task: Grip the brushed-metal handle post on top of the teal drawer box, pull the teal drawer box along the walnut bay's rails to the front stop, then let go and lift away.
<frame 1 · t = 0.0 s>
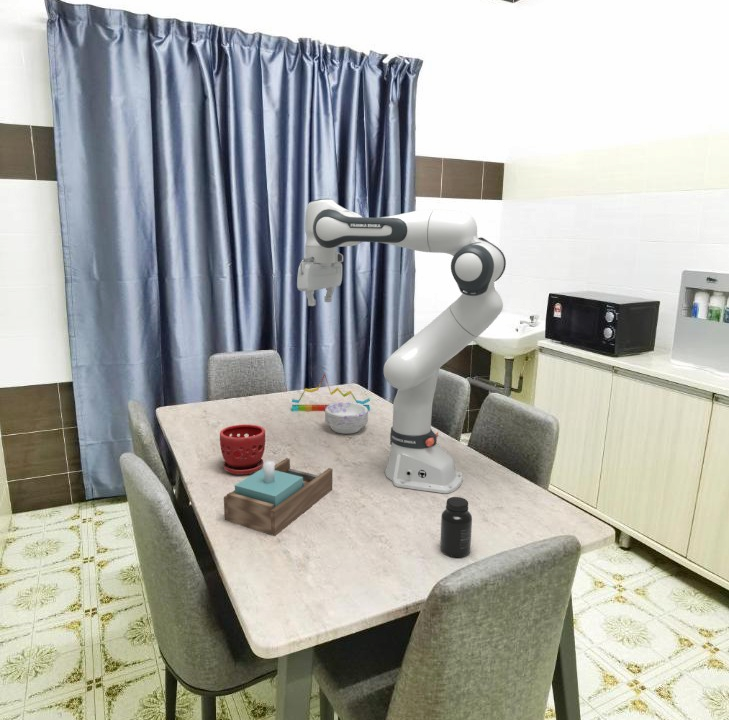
hand: (320, 303, 168), 48 cm above the table, tool pointing down, fingers open, 8 cm apart
chart: (330, 410, 223), on the table
bay: (281, 504, 147), on the table
supplement bottle: (454, 550, 128), on the table
paper bowls: (346, 430, 202), on the table
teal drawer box: (269, 484, 141), point 8 cm above the table, slide at 11.0 cm
plant pot: (243, 468, 168), on the table
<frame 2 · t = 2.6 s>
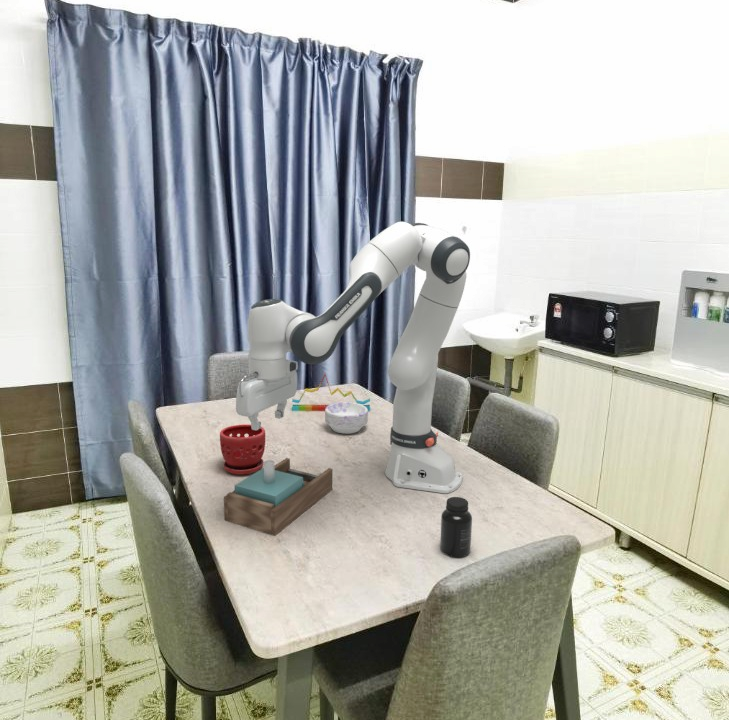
hand: (268, 423, 137), 24 cm above the table, tool pointing down, fingers open, 8 cm apart
nothing on the table moved.
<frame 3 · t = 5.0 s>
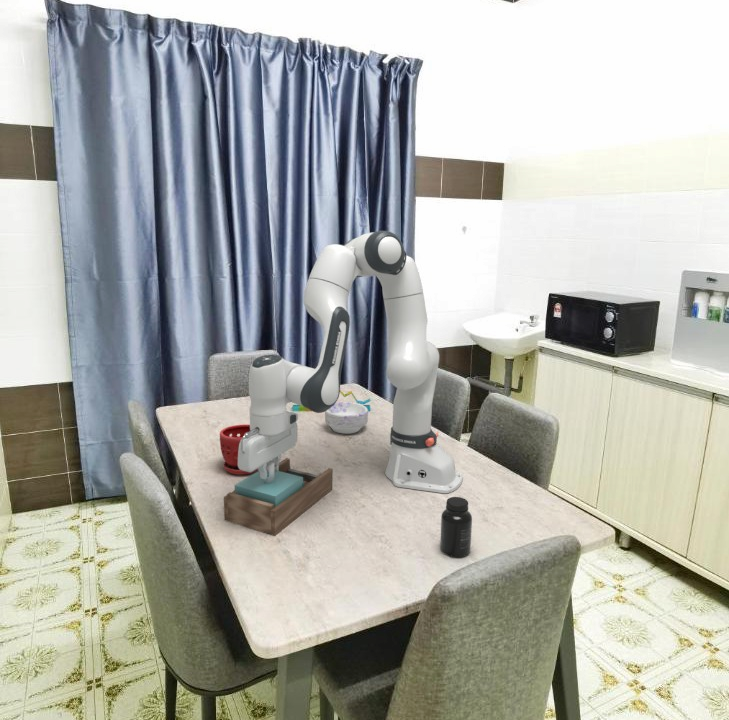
hand: (269, 474, 140), 10 cm above the table, tool pointing down, fingers closed on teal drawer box, 3 cm apart
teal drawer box: (269, 484, 141), point 8 cm above the table, slide at 11.0 cm, touching gripper
everything else where it was.
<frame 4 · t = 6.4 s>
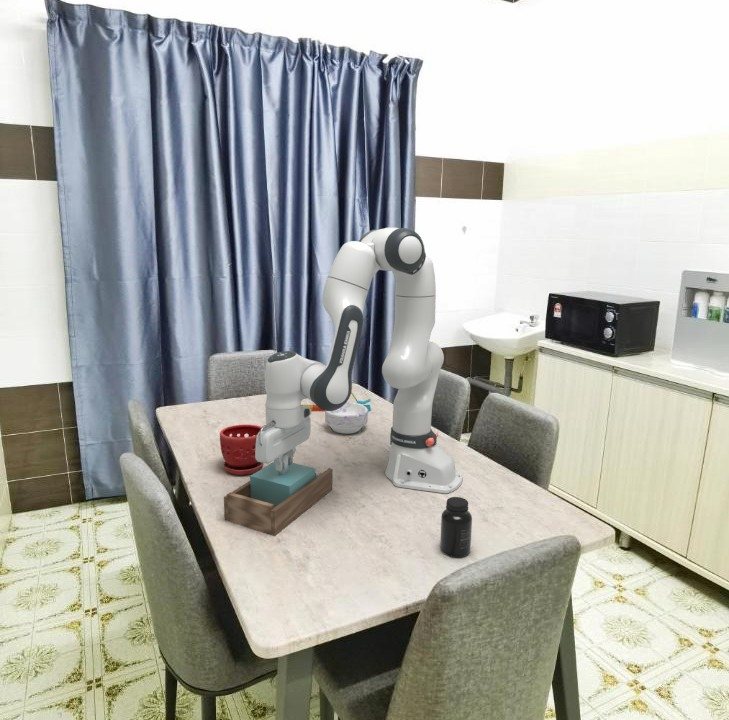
hand: (284, 466, 146), 10 cm above the table, tool pointing down, fingers closed on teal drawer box, 3 cm apart
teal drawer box: (283, 475, 146), point 8 cm above the table, slide at 4.9 cm, touching gripper
everything else where it was.
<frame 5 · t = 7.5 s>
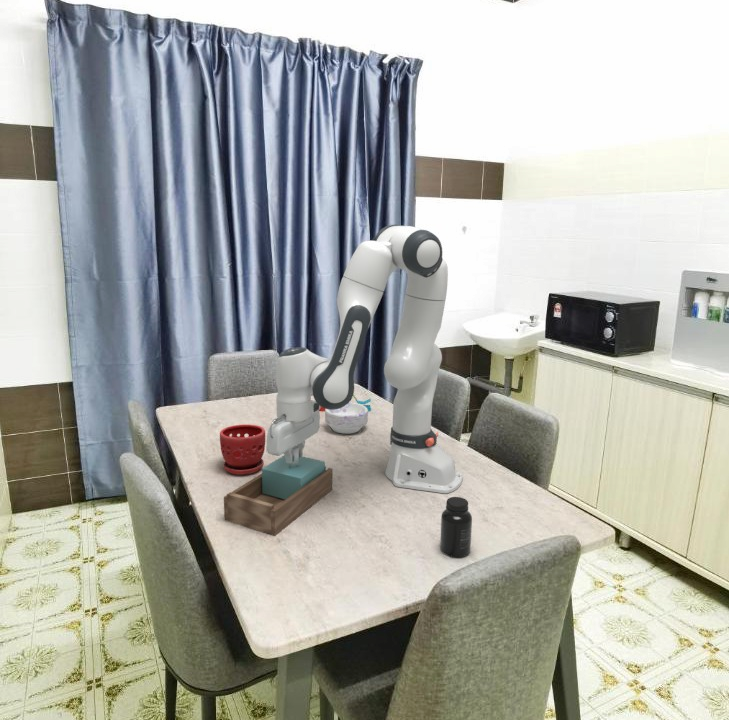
hand: (294, 459, 150), 10 cm above the table, tool pointing down, fingers closed on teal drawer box, 3 cm apart
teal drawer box: (294, 468, 151), point 8 cm above the table, slide at 0.0 cm, touching gripper
everything else where it was.
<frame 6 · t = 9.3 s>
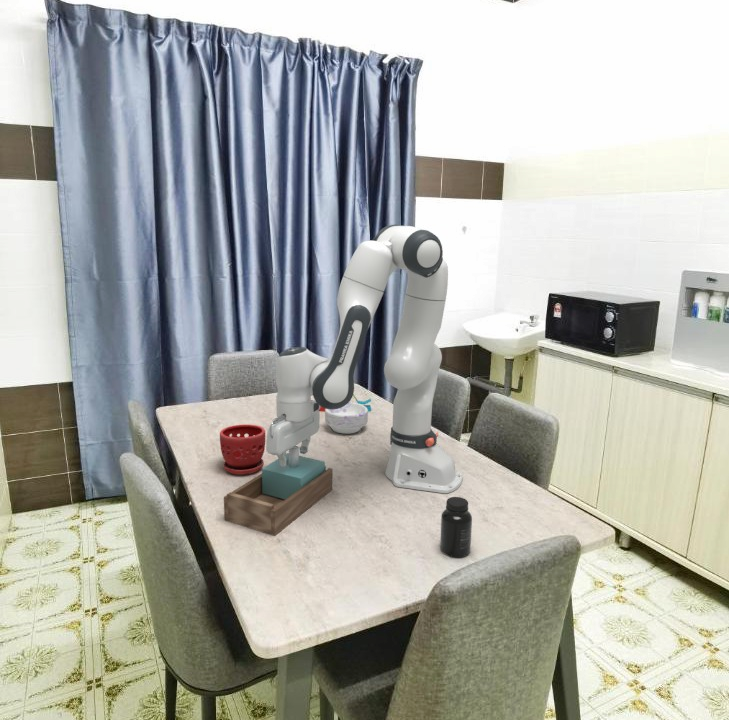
hand: (294, 459, 150), 10 cm above the table, tool pointing down, fingers open, 8 cm apart
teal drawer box: (294, 468, 151), point 8 cm above the table, slide at 0.0 cm
everything else where it was.
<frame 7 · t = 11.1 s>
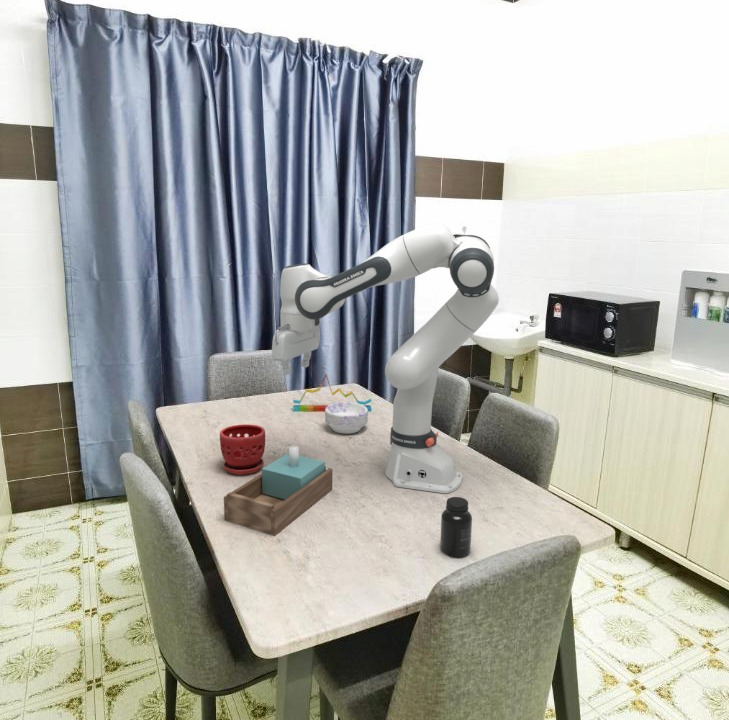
hand: (296, 370, 161), 30 cm above the table, tool pointing down, fingers open, 8 cm apart
nothing on the table moved.
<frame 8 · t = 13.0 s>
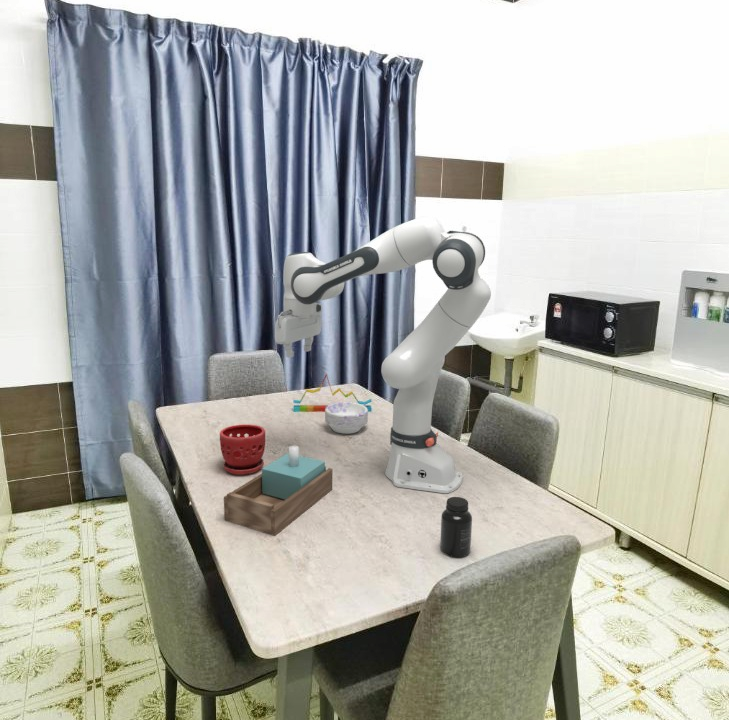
hand: (298, 354, 169), 33 cm above the table, tool pointing down, fingers open, 8 cm apart
nothing on the table moved.
at the end: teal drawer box slide at 0.0 cm; the gripper is holding nothing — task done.
